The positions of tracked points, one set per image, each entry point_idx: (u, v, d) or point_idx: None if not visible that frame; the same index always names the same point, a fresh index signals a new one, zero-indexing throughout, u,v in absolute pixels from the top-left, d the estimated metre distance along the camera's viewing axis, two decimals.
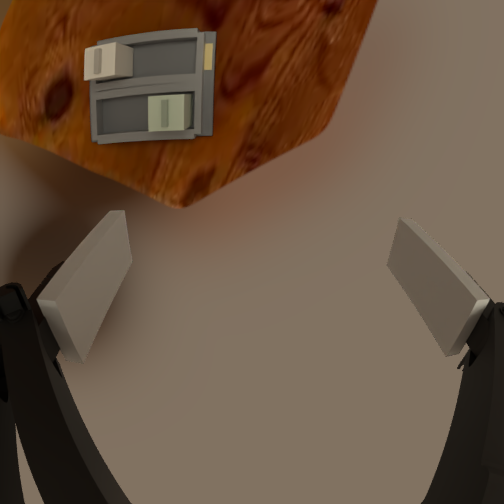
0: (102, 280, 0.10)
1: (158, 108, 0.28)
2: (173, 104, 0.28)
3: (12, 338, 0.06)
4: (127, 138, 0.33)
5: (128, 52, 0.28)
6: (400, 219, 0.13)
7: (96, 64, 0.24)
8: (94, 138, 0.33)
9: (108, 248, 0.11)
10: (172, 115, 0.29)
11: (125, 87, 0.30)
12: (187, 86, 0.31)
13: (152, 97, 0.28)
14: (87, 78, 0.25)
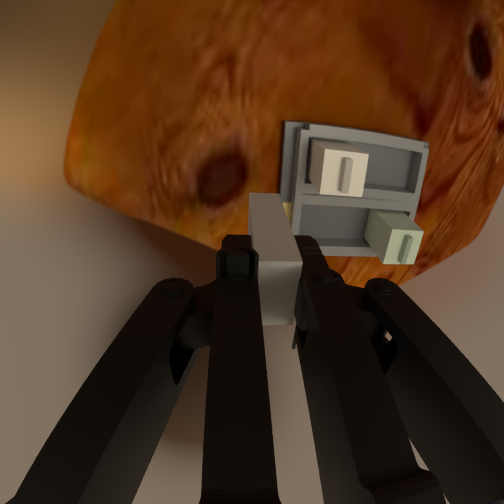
0: None
1: (398, 242, 0.28)
2: (412, 240, 0.28)
3: (229, 298, 0.08)
4: (333, 252, 0.33)
5: None
6: (264, 194, 0.15)
7: (346, 181, 0.24)
8: None
9: None
10: None
11: (342, 196, 0.30)
12: (405, 206, 0.30)
13: (396, 230, 0.27)
14: (325, 193, 0.25)
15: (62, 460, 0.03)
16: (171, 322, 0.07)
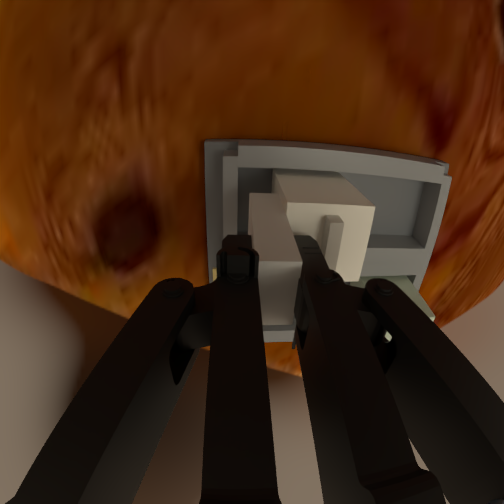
0: None
1: None
2: None
3: (229, 298, 0.08)
4: None
5: None
6: (264, 194, 0.15)
7: (330, 262, 0.13)
8: None
9: None
10: None
11: None
12: (408, 268, 0.19)
13: None
14: None
15: (62, 460, 0.03)
16: (171, 322, 0.07)
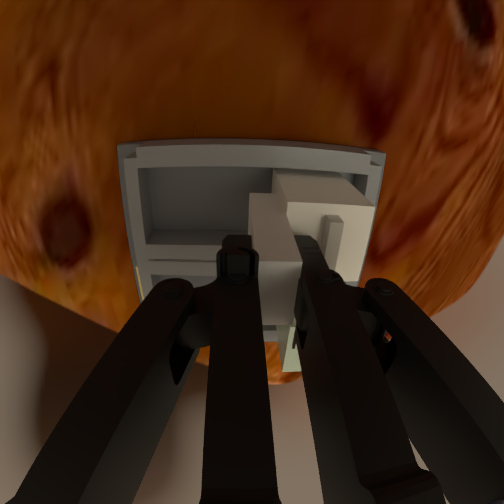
0: None
1: None
2: None
3: (229, 298, 0.08)
4: None
5: None
6: (264, 194, 0.15)
7: (330, 262, 0.13)
8: None
9: None
10: None
11: (214, 261, 0.18)
12: None
13: None
14: None
15: (62, 460, 0.03)
16: (171, 322, 0.07)
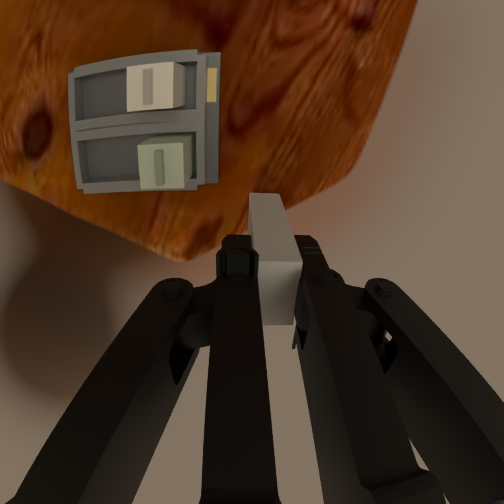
0: None
1: (150, 160, 0.24)
2: (169, 155, 0.24)
3: (229, 298, 0.08)
4: (117, 188, 0.29)
5: (182, 73, 0.24)
6: (264, 194, 0.15)
7: (146, 91, 0.20)
8: (79, 186, 0.28)
9: None
10: (169, 169, 0.24)
11: (110, 126, 0.26)
12: (186, 125, 0.26)
13: (142, 146, 0.23)
14: (132, 109, 0.21)
15: (62, 460, 0.03)
16: (171, 322, 0.07)
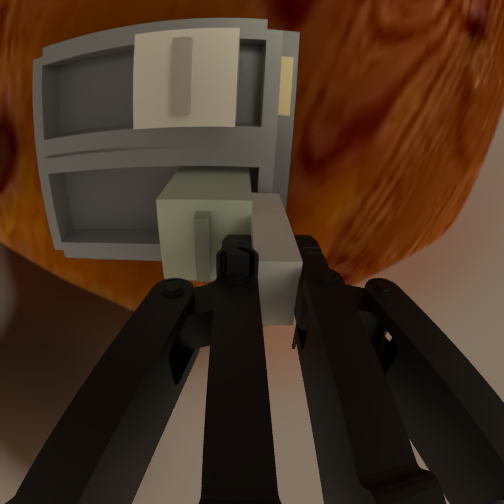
0: None
1: (184, 230, 0.13)
2: (223, 224, 0.13)
3: (229, 298, 0.08)
4: (118, 254, 0.18)
5: None
6: (264, 194, 0.15)
7: (179, 86, 0.09)
8: (57, 246, 0.17)
9: None
10: None
11: (102, 150, 0.15)
12: (242, 155, 0.15)
13: (167, 202, 0.12)
14: (145, 125, 0.10)
15: (62, 459, 0.03)
16: (171, 322, 0.07)
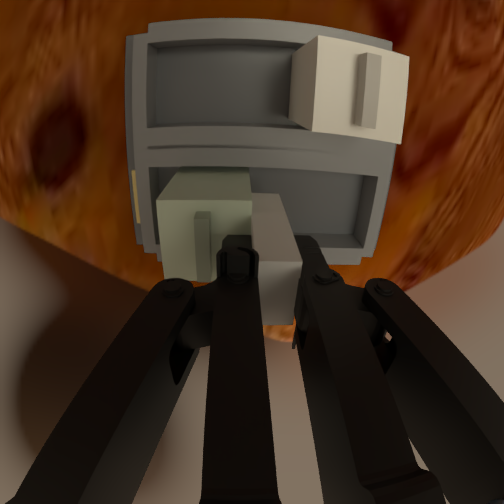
0: None
1: (184, 230, 0.13)
2: (223, 224, 0.13)
3: (229, 298, 0.08)
4: None
5: None
6: (264, 194, 0.15)
7: (371, 100, 0.09)
8: (148, 249, 0.18)
9: None
10: None
11: (225, 146, 0.15)
12: (366, 165, 0.16)
13: (167, 203, 0.12)
14: (325, 129, 0.11)
15: (62, 460, 0.03)
16: (171, 322, 0.07)
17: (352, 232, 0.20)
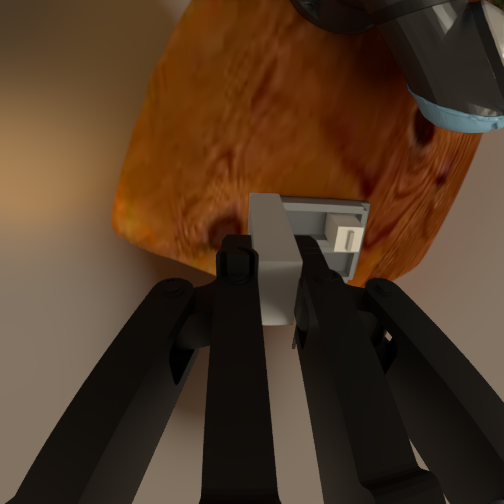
0: None
1: None
2: None
3: (229, 298, 0.08)
4: None
5: None
6: (264, 194, 0.15)
7: (350, 244, 0.41)
8: None
9: None
10: None
11: None
12: None
13: None
14: (337, 250, 0.43)
15: (62, 460, 0.03)
16: (171, 322, 0.07)
17: (344, 270, 0.52)
